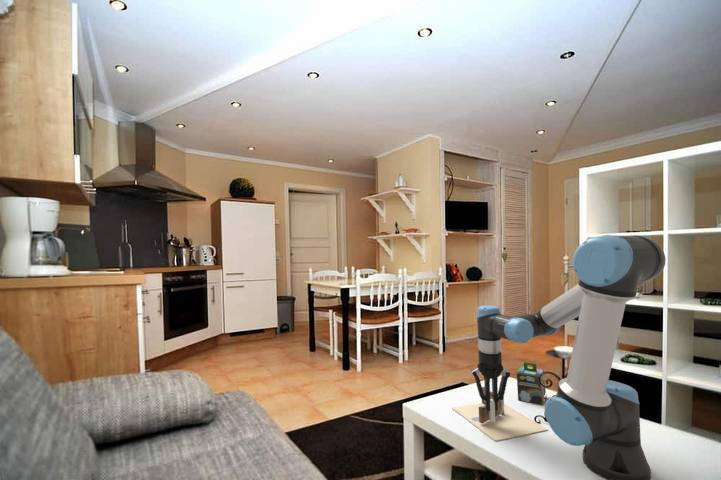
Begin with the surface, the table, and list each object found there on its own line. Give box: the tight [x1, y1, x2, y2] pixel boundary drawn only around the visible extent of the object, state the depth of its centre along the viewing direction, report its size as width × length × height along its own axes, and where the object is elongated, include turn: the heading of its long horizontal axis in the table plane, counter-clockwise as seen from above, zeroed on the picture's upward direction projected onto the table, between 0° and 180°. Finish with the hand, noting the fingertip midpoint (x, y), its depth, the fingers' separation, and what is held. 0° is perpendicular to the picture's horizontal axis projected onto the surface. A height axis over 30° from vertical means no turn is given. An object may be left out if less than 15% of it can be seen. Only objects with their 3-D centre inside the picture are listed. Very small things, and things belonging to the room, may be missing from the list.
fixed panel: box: [481, 386, 493, 404], centre depth 134 cm, size 10×1×6 cm, turn 17°
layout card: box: [451, 402, 549, 443], centre depth 126 cm, size 25×21×1 cm
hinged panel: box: [479, 400, 501, 424], centre depth 124 cm, size 12×1×5 cm, turn 126°
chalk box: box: [516, 361, 547, 406], centre depth 142 cm, size 9×9×15 cm
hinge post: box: [500, 397, 505, 415], centre depth 128 cm, size 2×2×6 cm
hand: (492, 419), depth 121 cm, fingers closed
